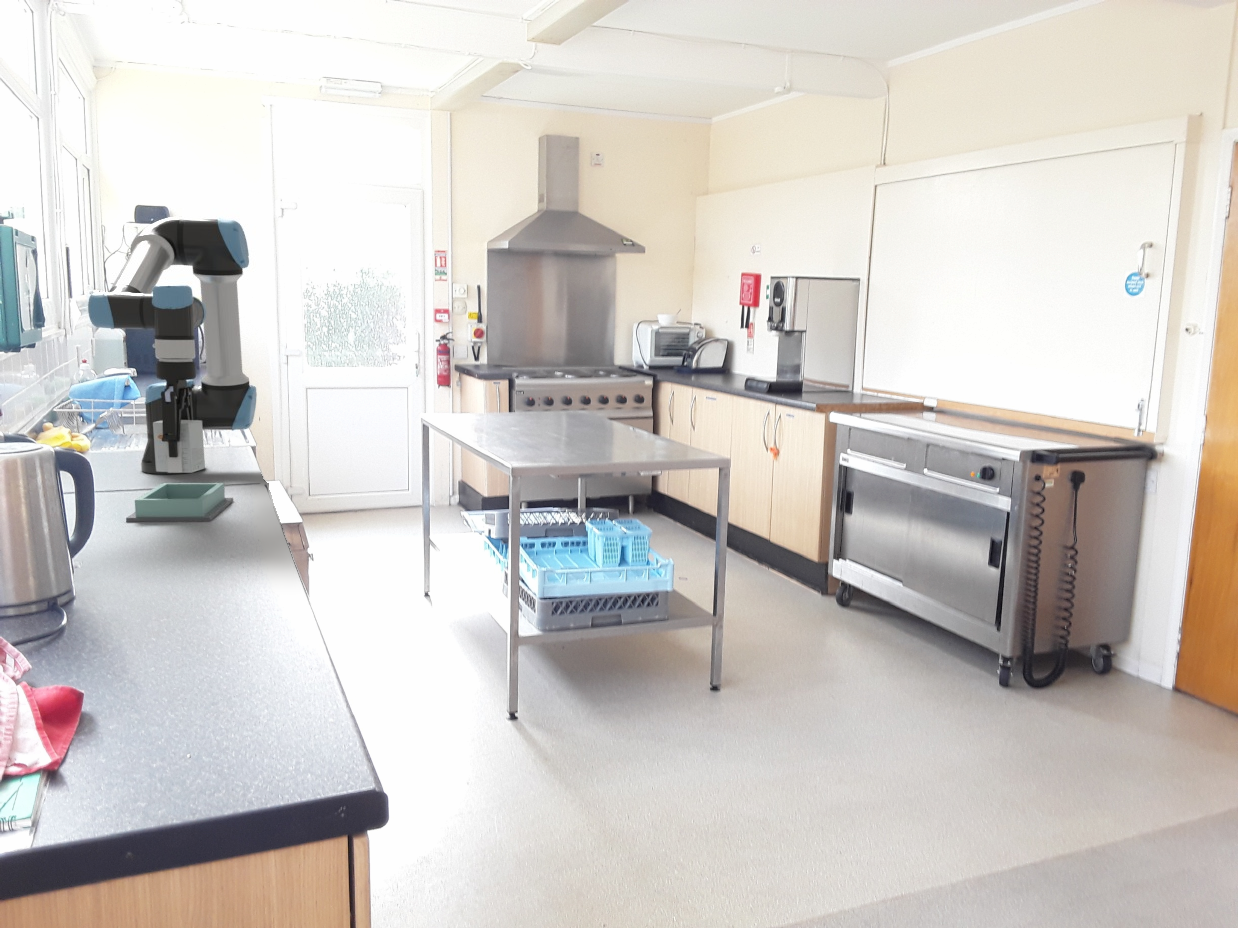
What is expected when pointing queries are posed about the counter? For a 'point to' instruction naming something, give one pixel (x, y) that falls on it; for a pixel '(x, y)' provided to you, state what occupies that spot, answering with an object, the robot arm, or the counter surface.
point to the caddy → (180, 503)
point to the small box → (190, 446)
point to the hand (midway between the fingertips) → (180, 469)
